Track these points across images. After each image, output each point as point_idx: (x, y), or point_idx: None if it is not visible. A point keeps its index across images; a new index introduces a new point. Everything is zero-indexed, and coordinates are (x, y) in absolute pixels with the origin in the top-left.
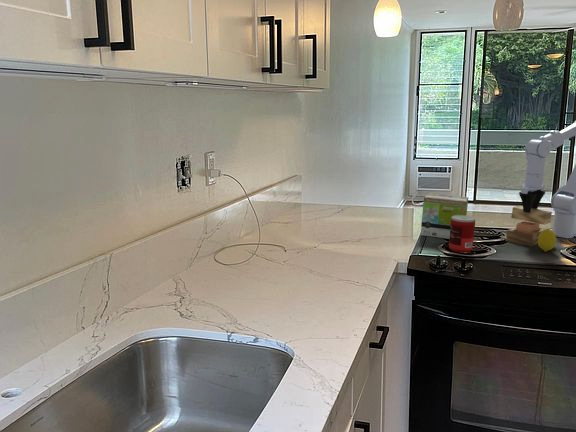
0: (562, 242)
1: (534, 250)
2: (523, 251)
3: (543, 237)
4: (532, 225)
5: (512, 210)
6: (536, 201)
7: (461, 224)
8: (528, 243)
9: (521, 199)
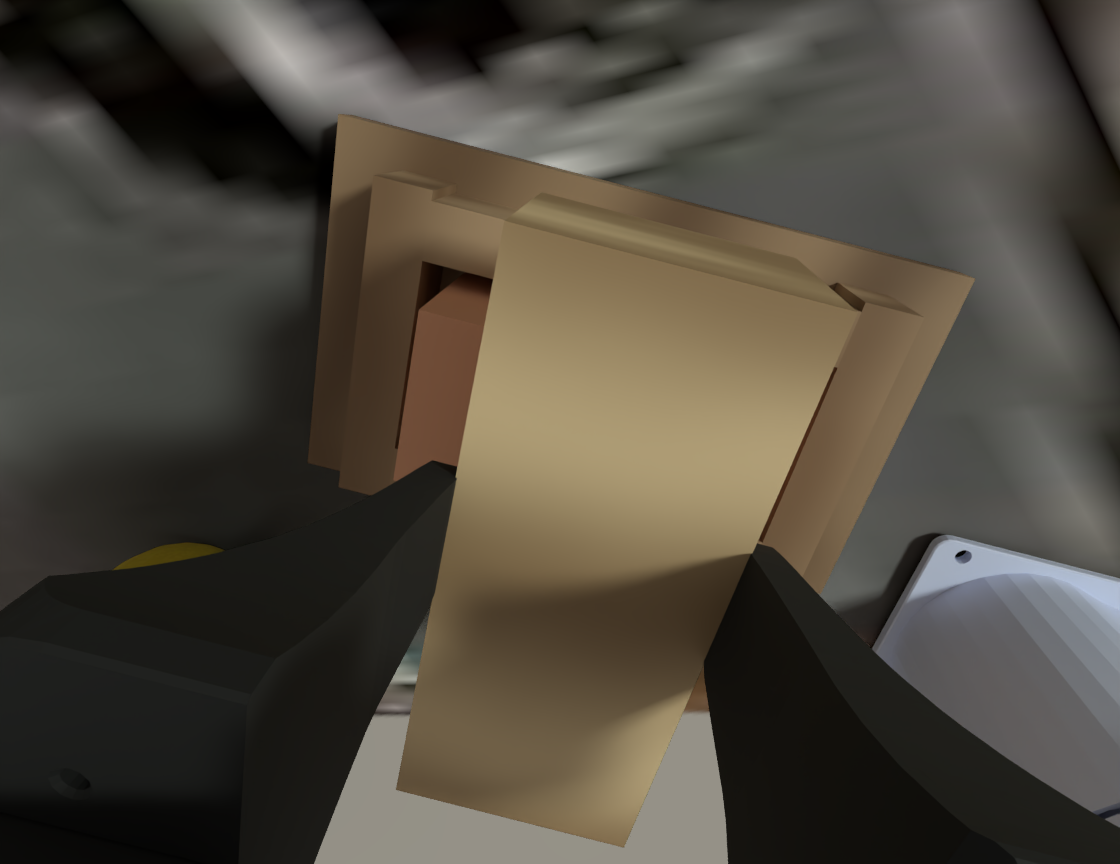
0: None
1: (203, 489)
2: (90, 415)
3: None
4: None
5: (519, 214)
6: (743, 776)
7: None
8: (311, 432)
9: (233, 551)
